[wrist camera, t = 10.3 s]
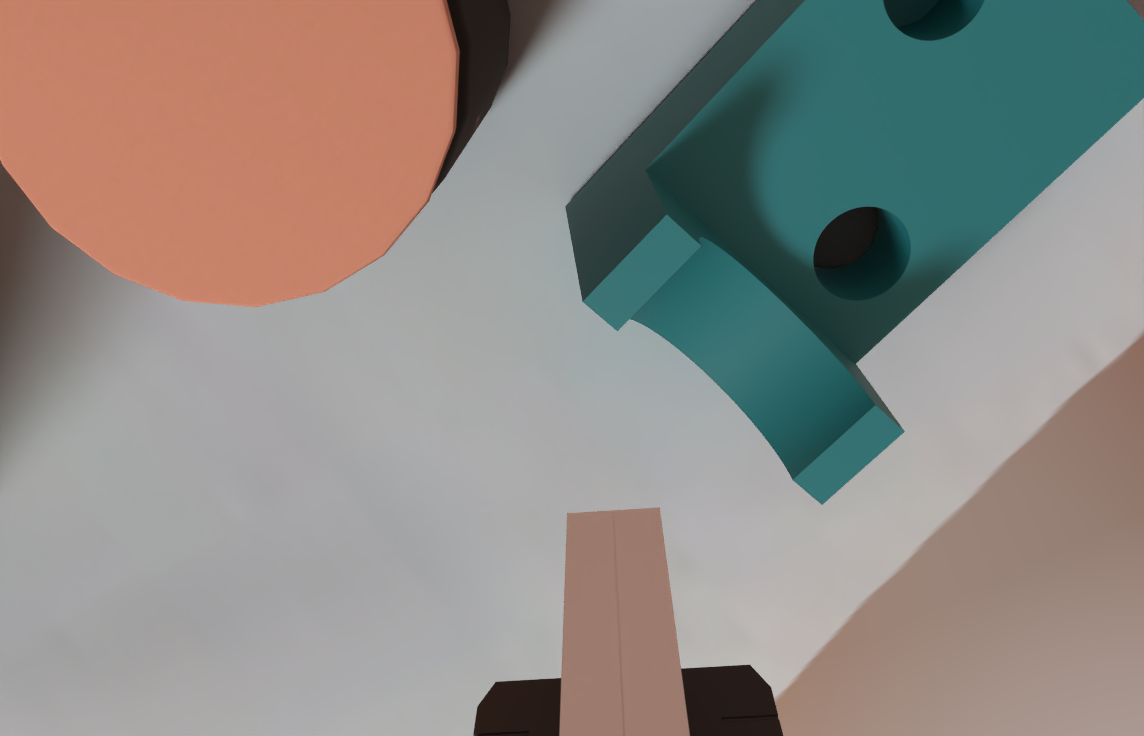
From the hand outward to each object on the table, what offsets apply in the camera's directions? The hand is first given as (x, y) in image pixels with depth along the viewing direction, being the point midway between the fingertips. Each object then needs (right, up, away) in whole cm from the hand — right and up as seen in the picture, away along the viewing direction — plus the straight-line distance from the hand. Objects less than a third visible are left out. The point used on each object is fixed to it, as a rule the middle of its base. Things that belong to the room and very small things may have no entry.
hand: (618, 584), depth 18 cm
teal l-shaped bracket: (+9, +13, +24) cm, 28 cm away
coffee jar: (-8, +16, +22) cm, 29 cm away
